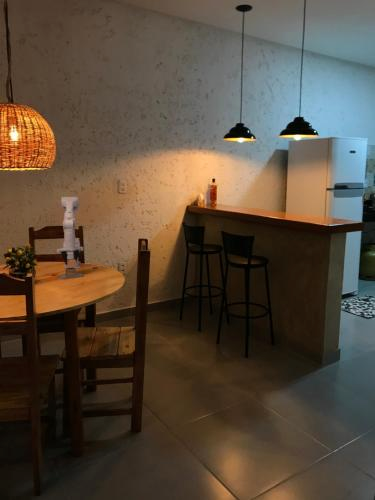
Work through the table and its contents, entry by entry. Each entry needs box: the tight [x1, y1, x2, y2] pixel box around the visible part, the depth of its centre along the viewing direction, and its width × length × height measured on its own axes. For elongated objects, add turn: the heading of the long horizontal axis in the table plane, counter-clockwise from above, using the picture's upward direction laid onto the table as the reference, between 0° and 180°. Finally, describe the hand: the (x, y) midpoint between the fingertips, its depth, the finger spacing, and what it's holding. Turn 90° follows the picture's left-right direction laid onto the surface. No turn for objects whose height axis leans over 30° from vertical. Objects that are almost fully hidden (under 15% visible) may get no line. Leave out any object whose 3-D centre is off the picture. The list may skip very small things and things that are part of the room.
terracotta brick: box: [66, 259, 76, 268], centre depth 232 cm, size 5×5×4 cm
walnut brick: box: [64, 267, 77, 277], centre depth 233 cm, size 5×5×4 cm
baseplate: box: [58, 272, 84, 280], centre depth 234 cm, size 7×12×1 cm, turn 125°
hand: (70, 264), depth 233 cm, fingers closed on terracotta brick, 4 cm apart
